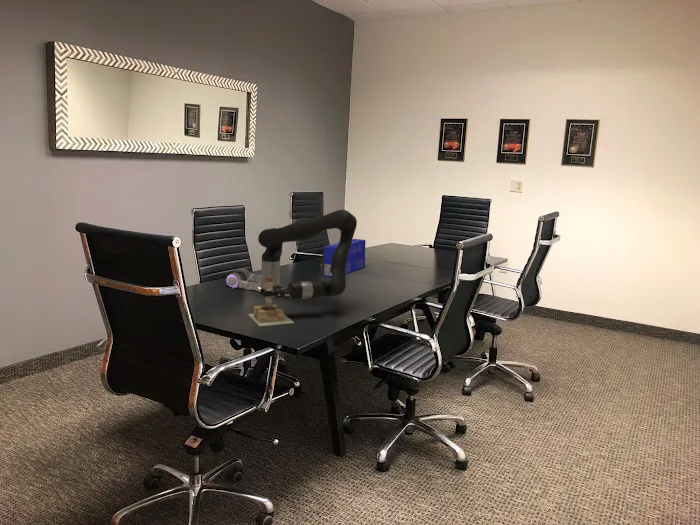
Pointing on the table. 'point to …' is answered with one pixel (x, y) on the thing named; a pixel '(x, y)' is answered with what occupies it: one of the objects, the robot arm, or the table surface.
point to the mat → (285, 321)
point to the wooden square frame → (268, 314)
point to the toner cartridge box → (354, 256)
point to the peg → (268, 288)
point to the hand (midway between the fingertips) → (262, 292)
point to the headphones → (244, 280)
